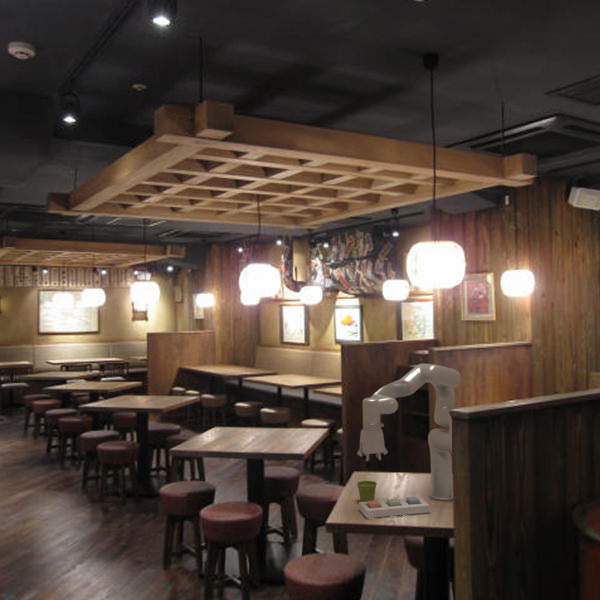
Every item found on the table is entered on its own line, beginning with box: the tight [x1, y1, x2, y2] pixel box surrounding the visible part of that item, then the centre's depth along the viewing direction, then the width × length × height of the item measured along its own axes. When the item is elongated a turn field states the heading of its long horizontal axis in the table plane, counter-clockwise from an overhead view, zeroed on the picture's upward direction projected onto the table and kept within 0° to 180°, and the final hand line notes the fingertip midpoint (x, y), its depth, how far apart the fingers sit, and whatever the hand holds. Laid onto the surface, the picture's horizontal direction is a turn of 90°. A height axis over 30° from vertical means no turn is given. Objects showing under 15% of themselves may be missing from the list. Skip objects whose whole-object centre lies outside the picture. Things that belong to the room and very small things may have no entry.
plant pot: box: [356, 480, 378, 502], centre depth 274 cm, size 9×9×9 cm
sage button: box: [386, 498, 400, 507], centre depth 260 cm, size 4×4×3 cm
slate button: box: [406, 496, 421, 505], centre depth 262 cm, size 4×4×3 cm
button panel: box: [358, 496, 431, 520], centre depth 260 cm, size 28×12×4 cm, turn 101°
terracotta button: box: [367, 499, 380, 508], centre depth 258 cm, size 4×4×3 cm
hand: (372, 468), depth 259 cm, fingers open, 3 cm apart
